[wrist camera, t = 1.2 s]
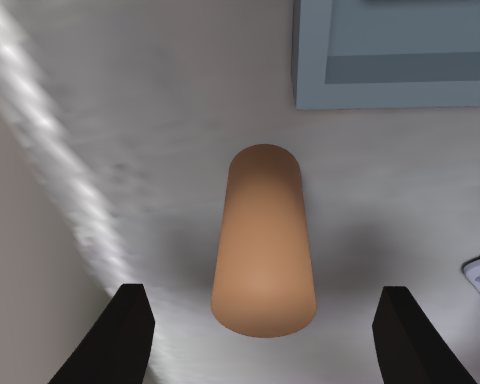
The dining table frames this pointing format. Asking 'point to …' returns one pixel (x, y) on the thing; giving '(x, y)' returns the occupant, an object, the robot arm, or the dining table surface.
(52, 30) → the dining table surface
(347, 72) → the tray box
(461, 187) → the dining table surface
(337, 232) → the dining table surface
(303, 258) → the peg
